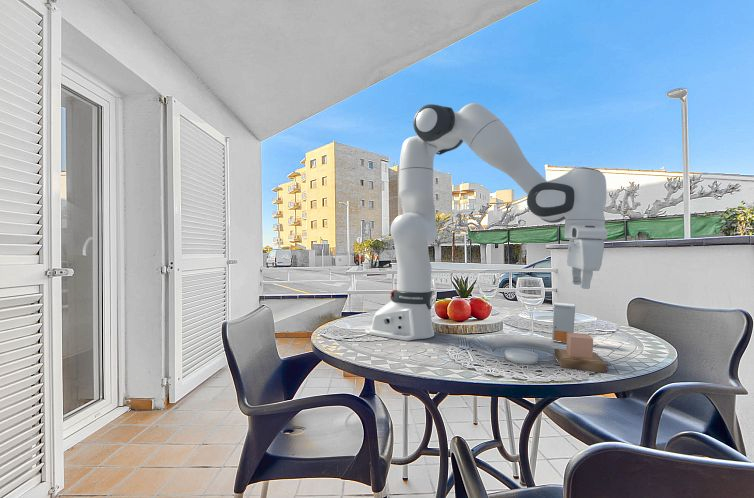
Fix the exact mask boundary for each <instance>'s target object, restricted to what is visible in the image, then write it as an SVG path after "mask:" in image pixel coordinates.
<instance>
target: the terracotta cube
mask: <svg viewBox="0 0 754 498" xmlns="http://www.w3.org/2000/svg"><path fill="white" fill-rule="evenodd" d="M565 345H566V347H565V348H566V349H565V350H566V352H567V353H568V354H569V356H570V357H578V358H588V359H592V357H593V349H594V338H593V337H592V336H591V335H590V334H588V333H577V332H574V333H568V332H567V344H565Z"/></svg>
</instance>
